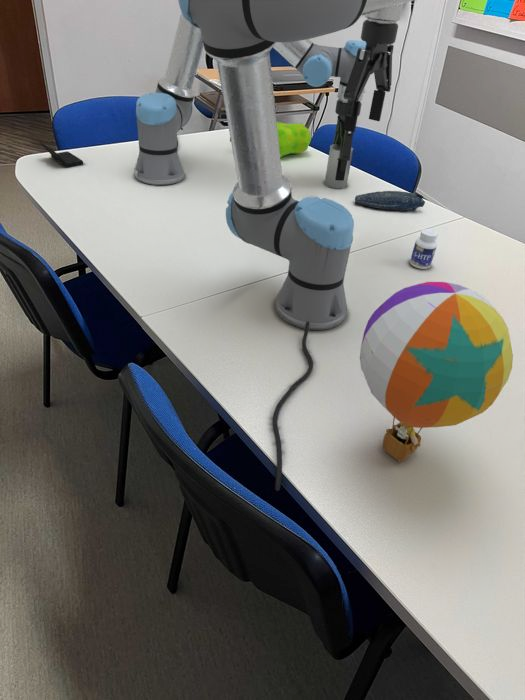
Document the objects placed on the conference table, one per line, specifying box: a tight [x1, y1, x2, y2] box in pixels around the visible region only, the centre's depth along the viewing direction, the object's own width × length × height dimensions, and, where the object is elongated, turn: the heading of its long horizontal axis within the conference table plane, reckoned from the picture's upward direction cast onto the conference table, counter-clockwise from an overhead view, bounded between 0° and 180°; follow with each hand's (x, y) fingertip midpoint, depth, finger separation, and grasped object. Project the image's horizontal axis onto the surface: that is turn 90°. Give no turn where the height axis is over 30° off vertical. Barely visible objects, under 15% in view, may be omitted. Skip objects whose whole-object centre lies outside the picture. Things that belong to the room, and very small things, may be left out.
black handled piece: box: [38, 141, 84, 168], centre depth 168 cm, size 12×7×10 cm
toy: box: [359, 281, 514, 463], centre depth 73 cm, size 20×20×30 cm
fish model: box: [354, 190, 426, 212], centre depth 159 cm, size 7×21×5 cm, turn 84°
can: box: [324, 143, 354, 190], centre depth 169 cm, size 7×7×12 cm
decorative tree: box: [229, 121, 312, 158], centre depth 188 cm, size 18×10×30 cm
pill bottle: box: [409, 228, 439, 270], centre depth 130 cm, size 5×5×9 cm
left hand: (337, 175), depth 171 cm, fingers closed on can, 7 cm apart
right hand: (362, 125), depth 124 cm, fingers open, 13 cm apart
